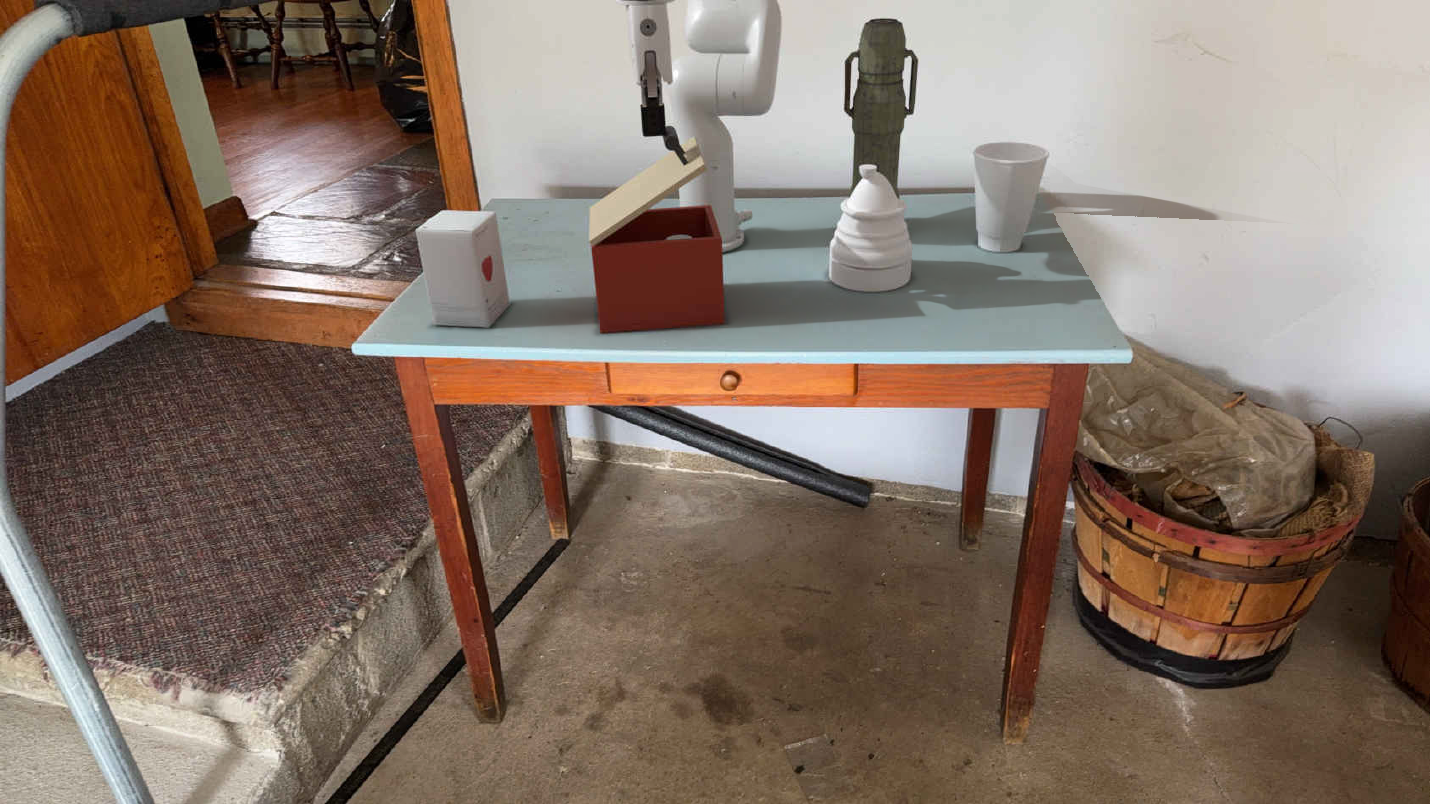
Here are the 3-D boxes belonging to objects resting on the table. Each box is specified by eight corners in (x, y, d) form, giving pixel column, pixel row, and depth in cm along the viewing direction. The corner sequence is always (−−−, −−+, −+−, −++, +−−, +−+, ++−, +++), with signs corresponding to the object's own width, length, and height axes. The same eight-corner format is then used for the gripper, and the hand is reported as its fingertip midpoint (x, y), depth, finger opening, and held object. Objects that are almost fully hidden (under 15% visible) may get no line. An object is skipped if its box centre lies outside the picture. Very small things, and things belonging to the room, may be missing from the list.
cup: (1033, 234, 161) (1046, 142, 153) (1037, 259, 151) (1052, 162, 143) (963, 231, 164) (972, 140, 156) (963, 255, 154) (973, 160, 146)
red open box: (713, 284, 147) (710, 204, 140) (724, 323, 134) (722, 238, 128) (600, 292, 146) (592, 212, 139) (600, 333, 133) (591, 247, 126)
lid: (697, 141, 136) (677, 109, 133) (707, 169, 123) (685, 135, 120) (593, 212, 139) (571, 182, 137) (592, 246, 126) (568, 215, 124)
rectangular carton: (489, 329, 135) (472, 231, 128) (432, 326, 137) (412, 229, 129) (512, 304, 143) (497, 210, 135) (457, 301, 144) (440, 208, 137)
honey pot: (880, 298, 140) (887, 181, 131) (812, 278, 148) (815, 166, 139) (925, 273, 148) (935, 161, 139) (859, 255, 156) (864, 148, 147)
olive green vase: (835, 220, 171) (842, 18, 154) (899, 218, 171) (913, 15, 154) (843, 237, 163) (851, 25, 146) (909, 234, 164) (925, 22, 146)
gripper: (677, -6, 112) (685, 147, 121) (670, -18, 125) (677, 120, 134) (615, -3, 111) (628, 150, 120) (614, -15, 124) (626, 123, 133)
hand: (654, 134), depth 127 cm, fingers closed
